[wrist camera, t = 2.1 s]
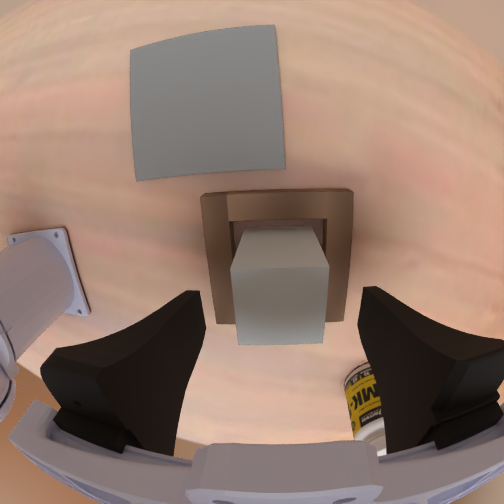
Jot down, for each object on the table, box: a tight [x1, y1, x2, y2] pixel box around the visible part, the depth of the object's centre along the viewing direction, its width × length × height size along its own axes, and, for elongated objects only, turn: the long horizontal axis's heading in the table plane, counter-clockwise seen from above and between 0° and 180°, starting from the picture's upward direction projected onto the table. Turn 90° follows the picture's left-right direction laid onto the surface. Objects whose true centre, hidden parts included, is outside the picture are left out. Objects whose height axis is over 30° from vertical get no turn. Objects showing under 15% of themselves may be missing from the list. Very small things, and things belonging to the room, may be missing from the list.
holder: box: [200, 189, 354, 324], centre depth 17 cm, size 8×8×1 cm
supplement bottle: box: [344, 363, 386, 456], centre depth 17 cm, size 5×5×8 cm
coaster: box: [130, 25, 285, 182], centre depth 14 cm, size 9×9×1 cm
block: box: [230, 226, 329, 345], centre depth 14 cm, size 4×4×6 cm
